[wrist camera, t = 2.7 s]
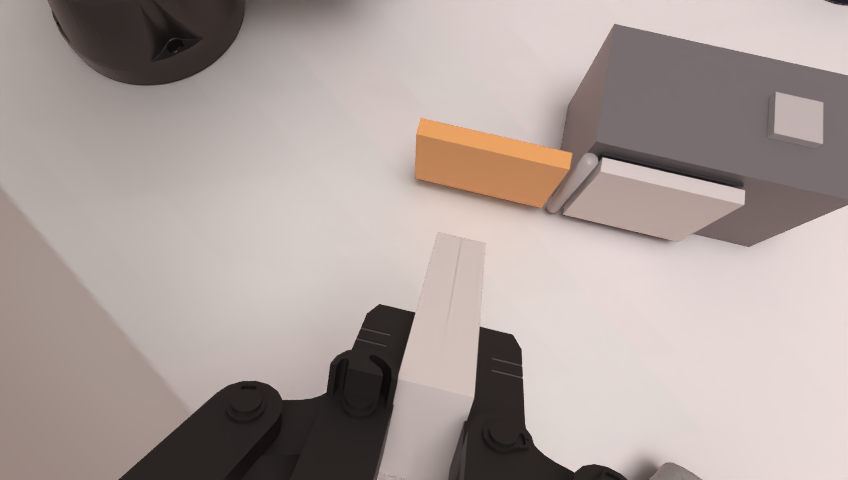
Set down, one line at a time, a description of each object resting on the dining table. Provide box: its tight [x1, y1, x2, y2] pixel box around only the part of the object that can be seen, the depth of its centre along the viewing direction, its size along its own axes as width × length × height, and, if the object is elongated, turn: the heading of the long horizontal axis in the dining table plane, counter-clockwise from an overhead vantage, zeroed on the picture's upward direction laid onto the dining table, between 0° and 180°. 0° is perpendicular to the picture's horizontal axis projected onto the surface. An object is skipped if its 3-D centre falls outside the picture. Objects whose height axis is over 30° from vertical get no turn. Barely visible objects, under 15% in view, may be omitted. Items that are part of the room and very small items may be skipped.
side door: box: [415, 118, 745, 242], centre depth 35 cm, size 21×1×8 cm, turn 76°
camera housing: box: [552, 24, 848, 247], centre depth 37 cm, size 18×9×11 cm, turn 76°
